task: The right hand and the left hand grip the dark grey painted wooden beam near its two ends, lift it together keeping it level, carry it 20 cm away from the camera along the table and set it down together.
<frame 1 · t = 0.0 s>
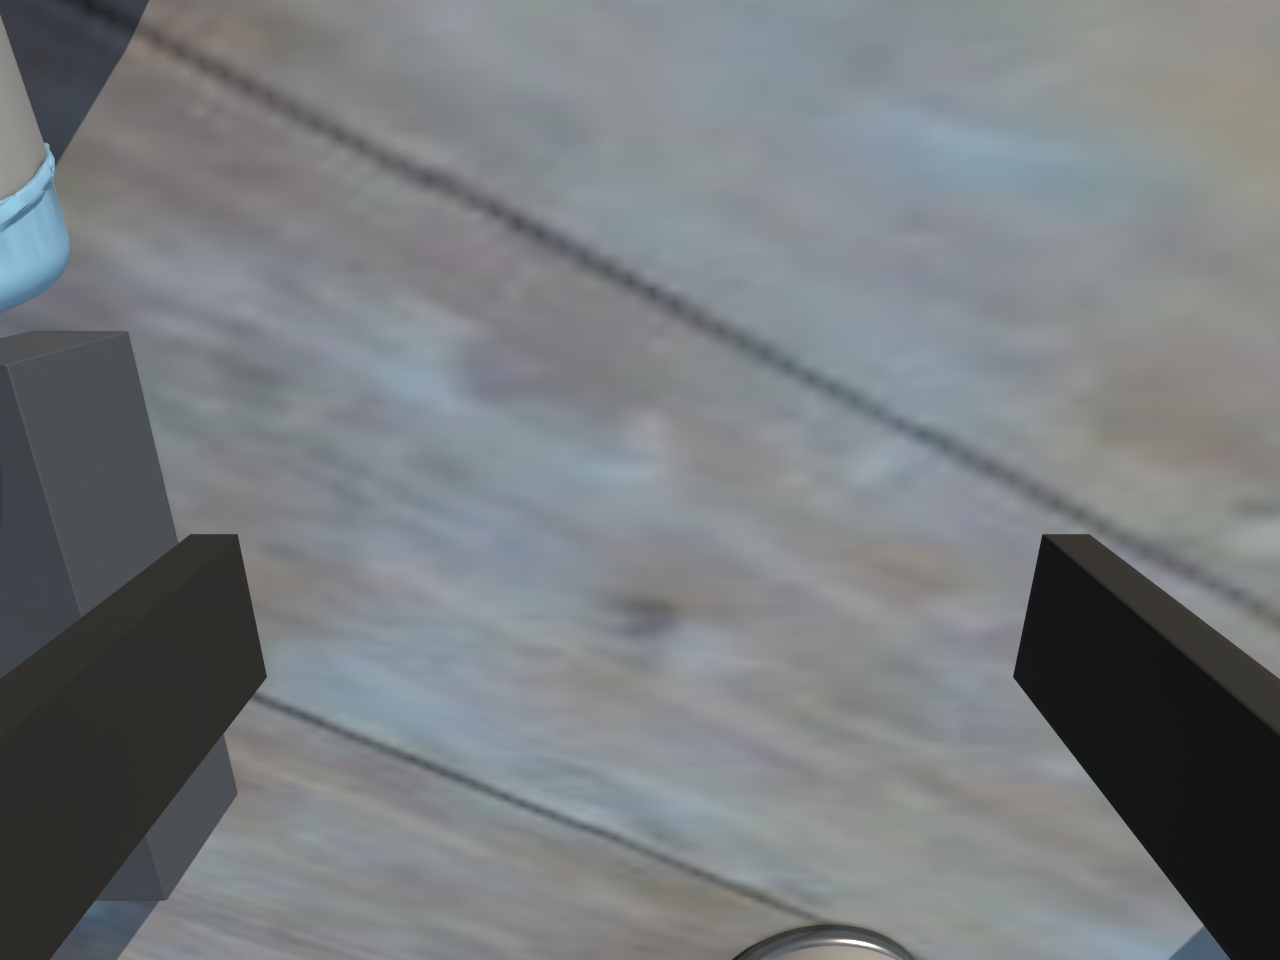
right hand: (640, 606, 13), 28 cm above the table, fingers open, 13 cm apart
beam: (146, 590, 44), on the table
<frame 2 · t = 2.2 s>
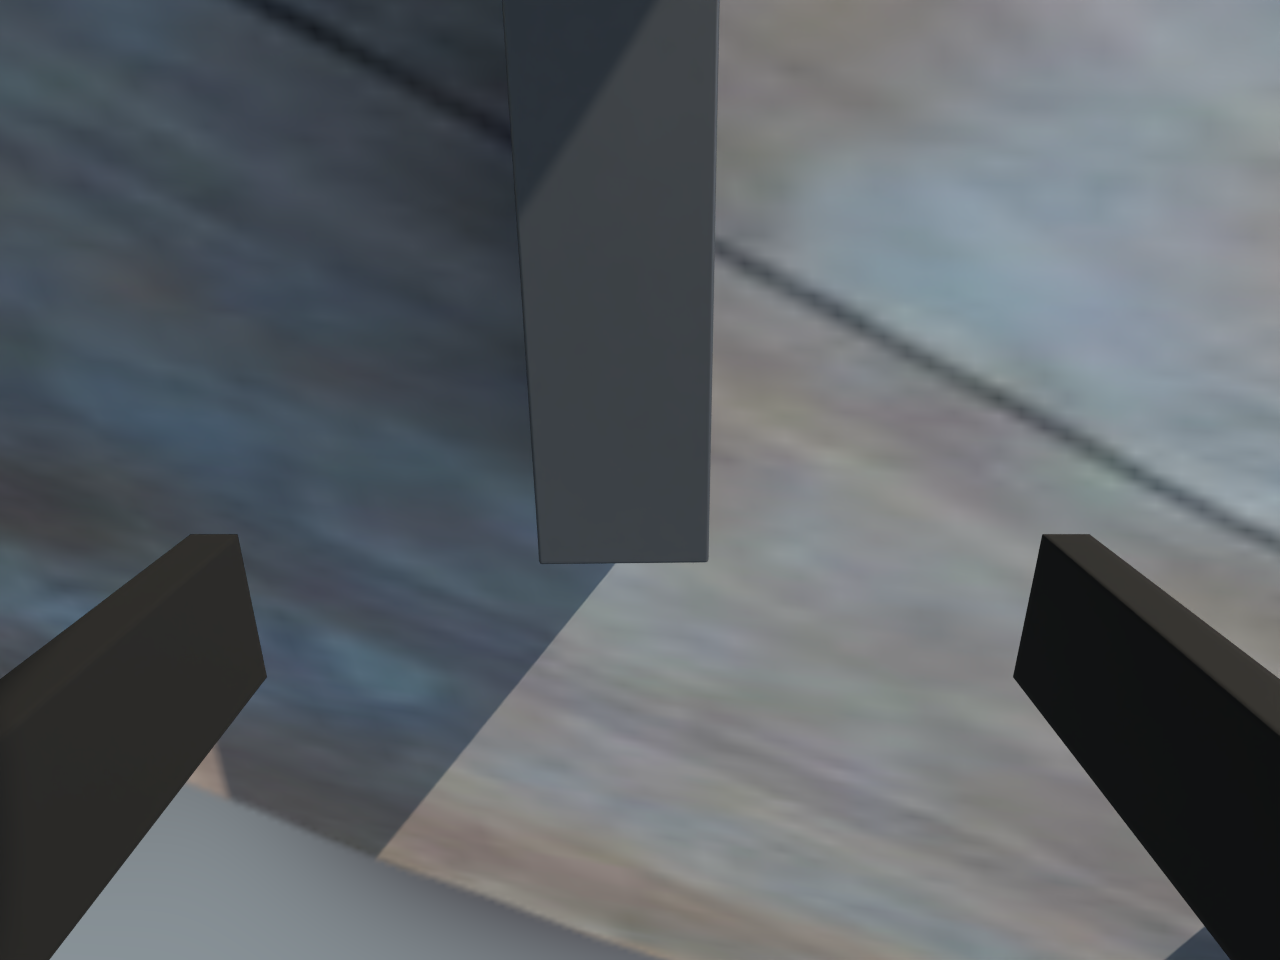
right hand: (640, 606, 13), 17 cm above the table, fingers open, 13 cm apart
beam: (619, 37, 25), on the table
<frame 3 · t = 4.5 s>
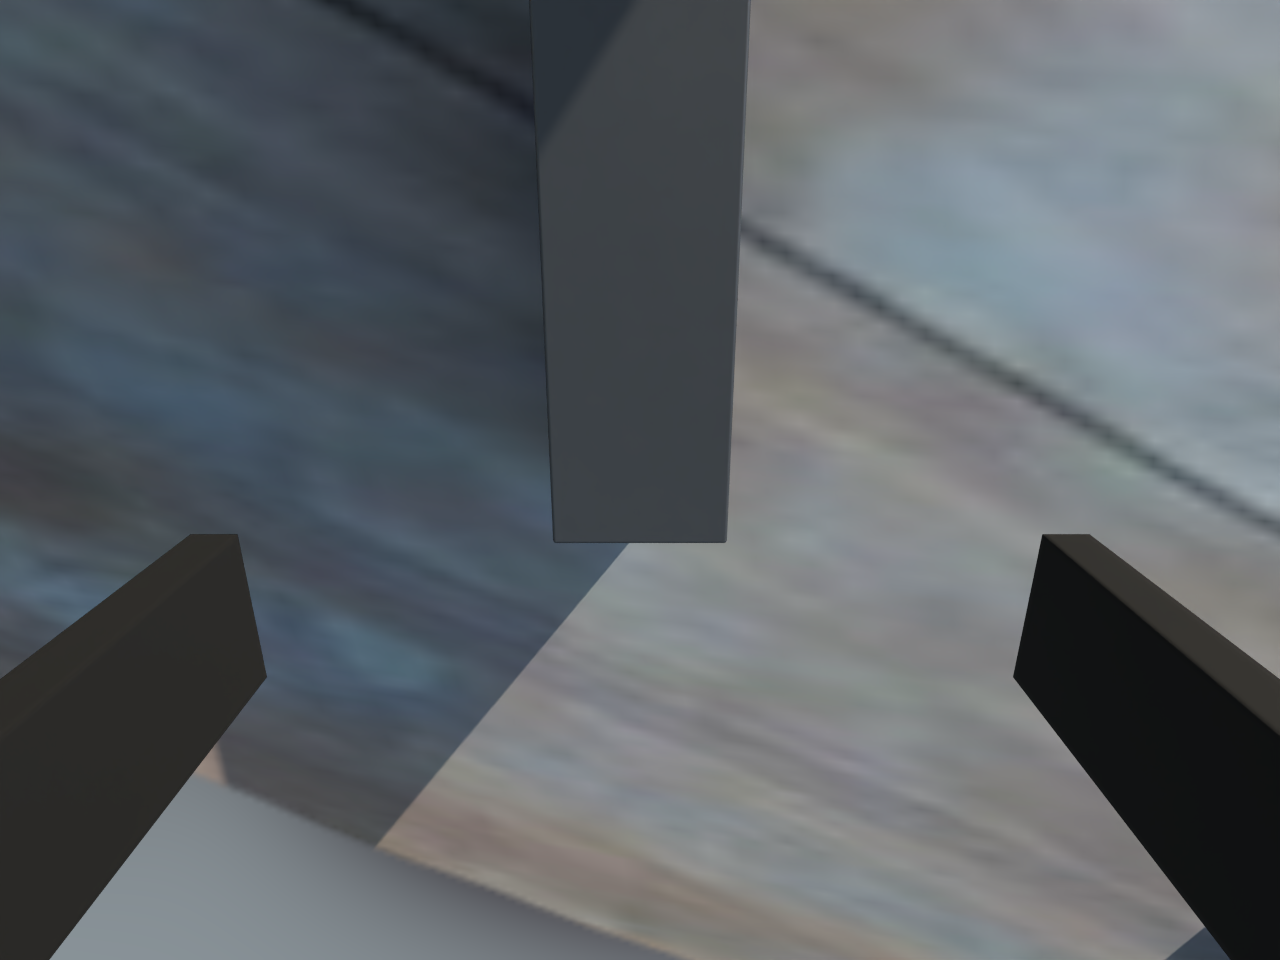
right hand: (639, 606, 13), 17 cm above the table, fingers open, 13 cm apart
beam: (639, 4, 24), on the table
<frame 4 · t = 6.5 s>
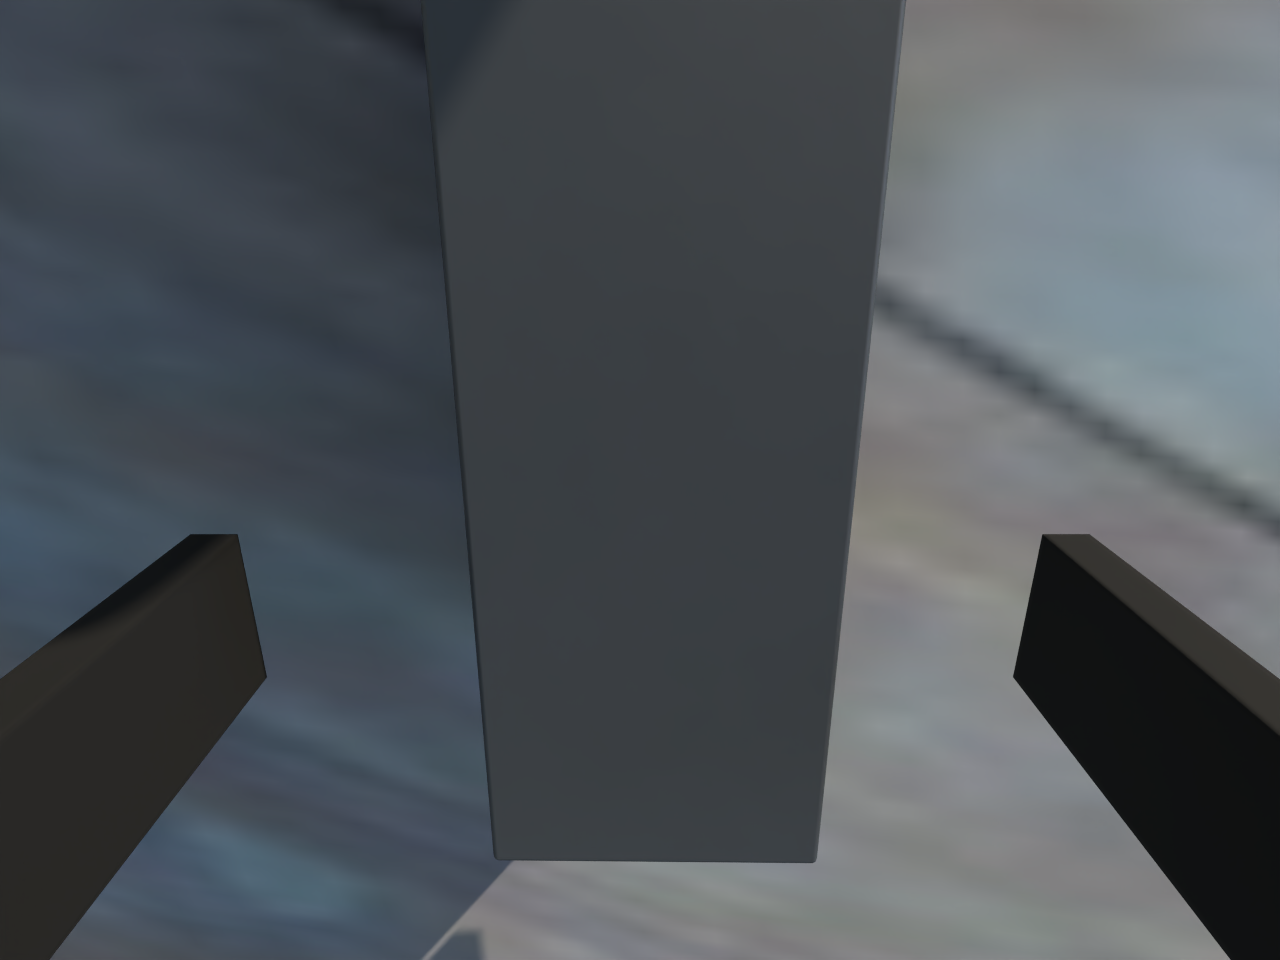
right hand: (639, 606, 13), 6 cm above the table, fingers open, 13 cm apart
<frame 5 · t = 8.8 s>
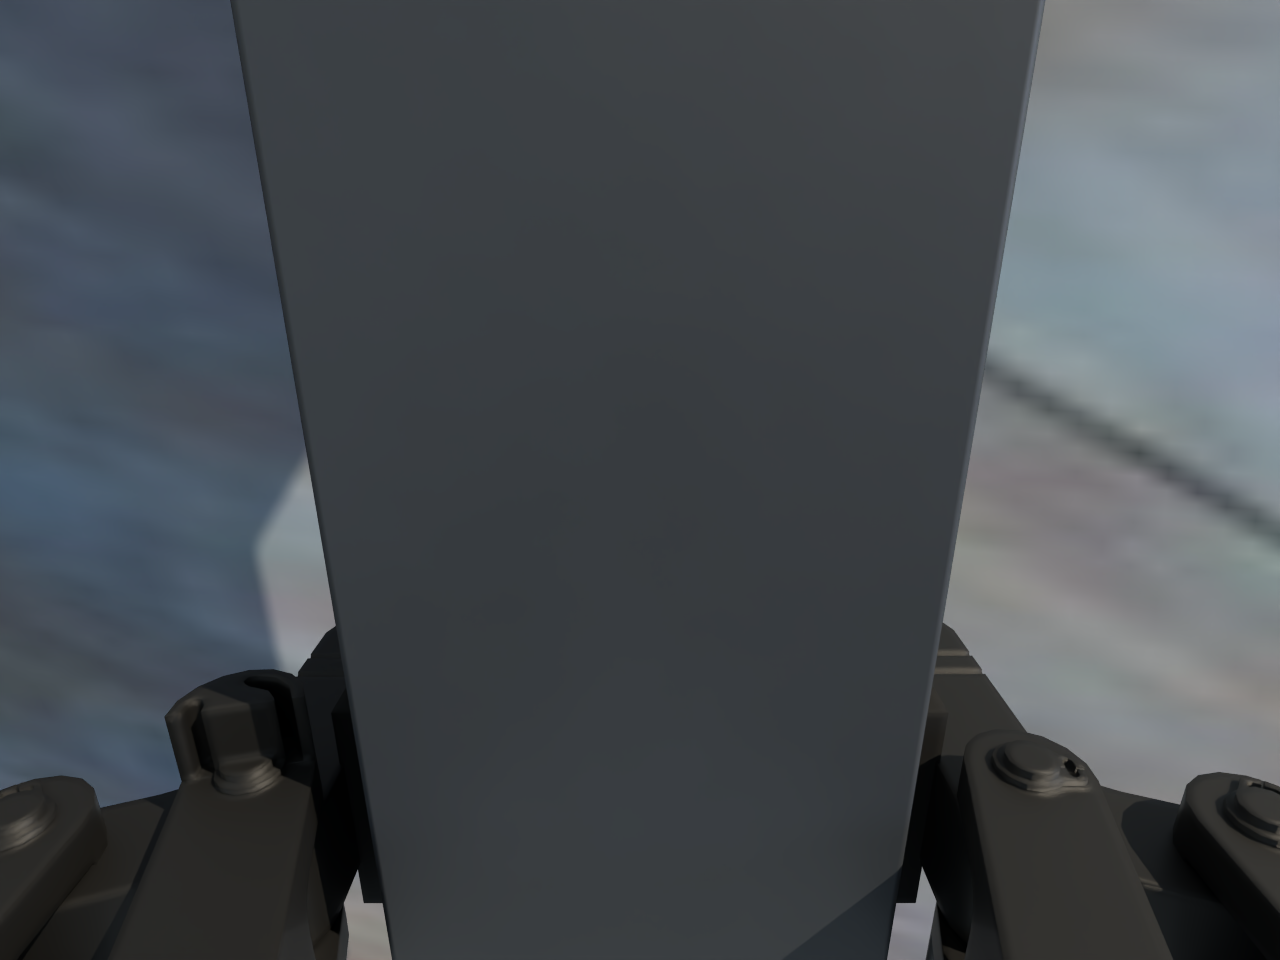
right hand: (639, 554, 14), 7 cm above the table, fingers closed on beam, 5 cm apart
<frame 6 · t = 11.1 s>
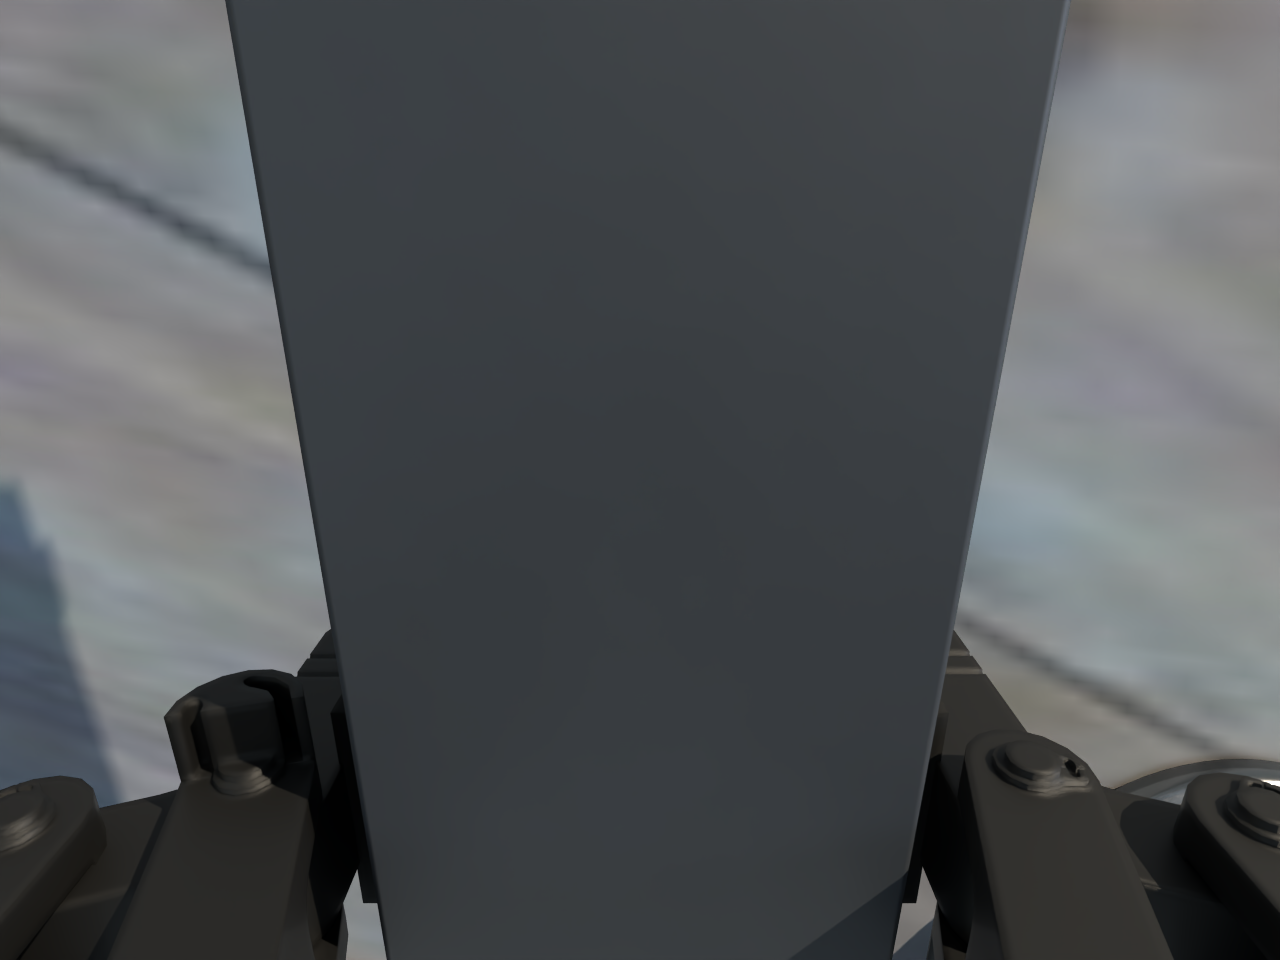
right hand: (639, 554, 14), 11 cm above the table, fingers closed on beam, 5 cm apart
when the left hand's fingers open (0 cm above the table, at t = 13.8 s): beam stays where it is, on the table.
when the right hand's fingers open (0 cm above the table, at t = 13.9 s): beam stays where it is, on the table.
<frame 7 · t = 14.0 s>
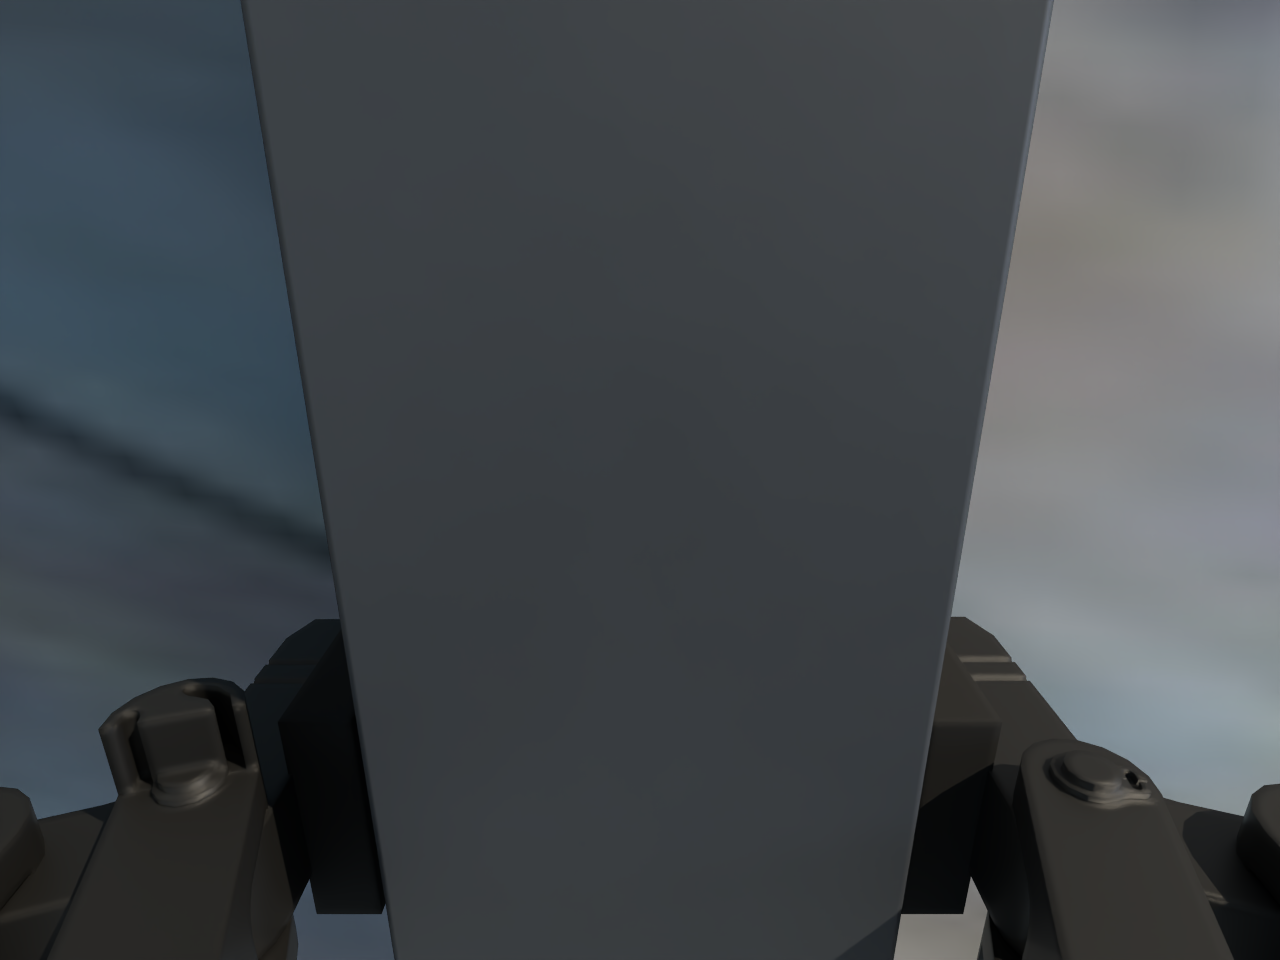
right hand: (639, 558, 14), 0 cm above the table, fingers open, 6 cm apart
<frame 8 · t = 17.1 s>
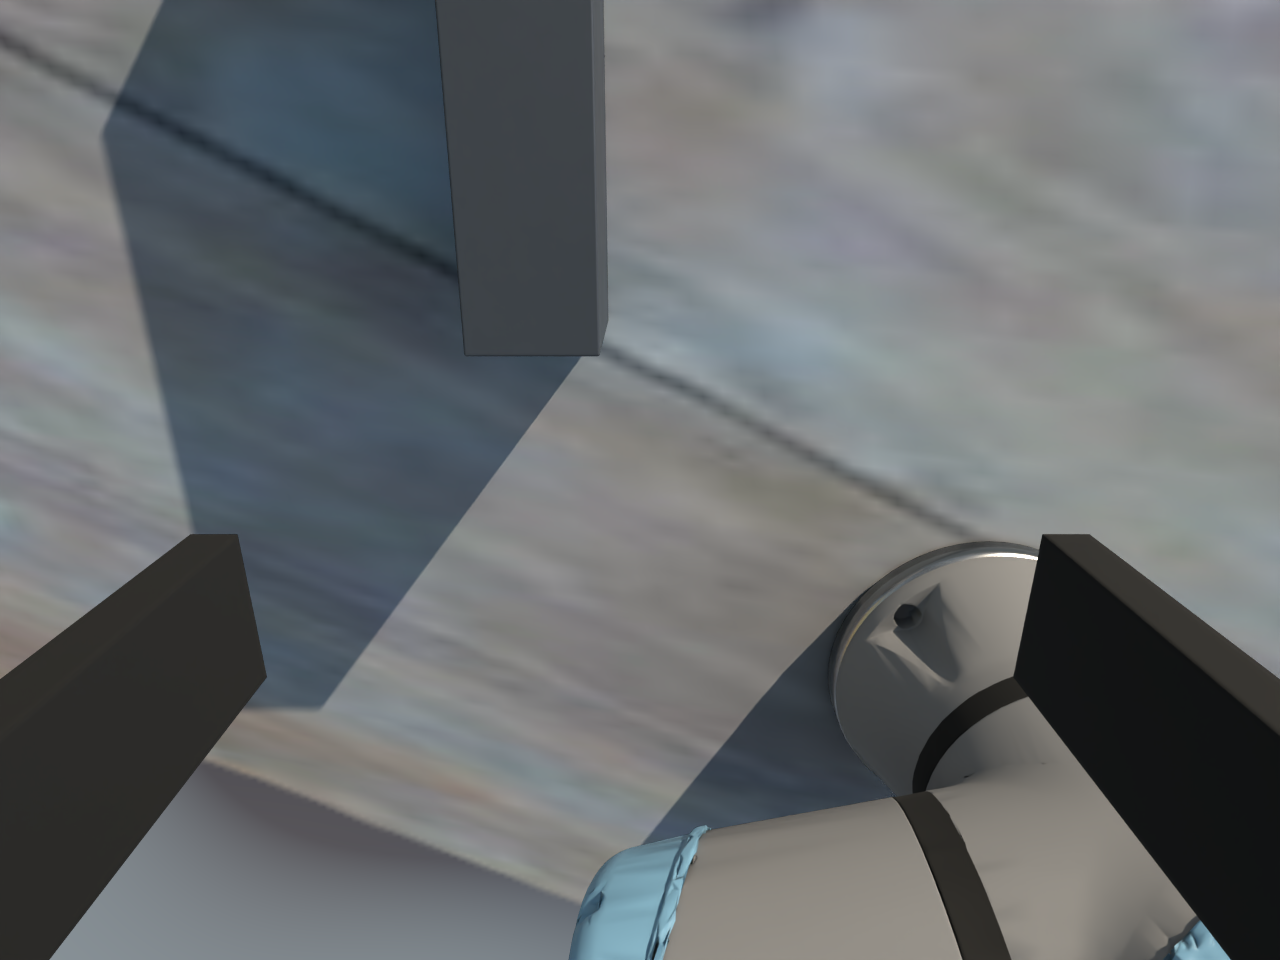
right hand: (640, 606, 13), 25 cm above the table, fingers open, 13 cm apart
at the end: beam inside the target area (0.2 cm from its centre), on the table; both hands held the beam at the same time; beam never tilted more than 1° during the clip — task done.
